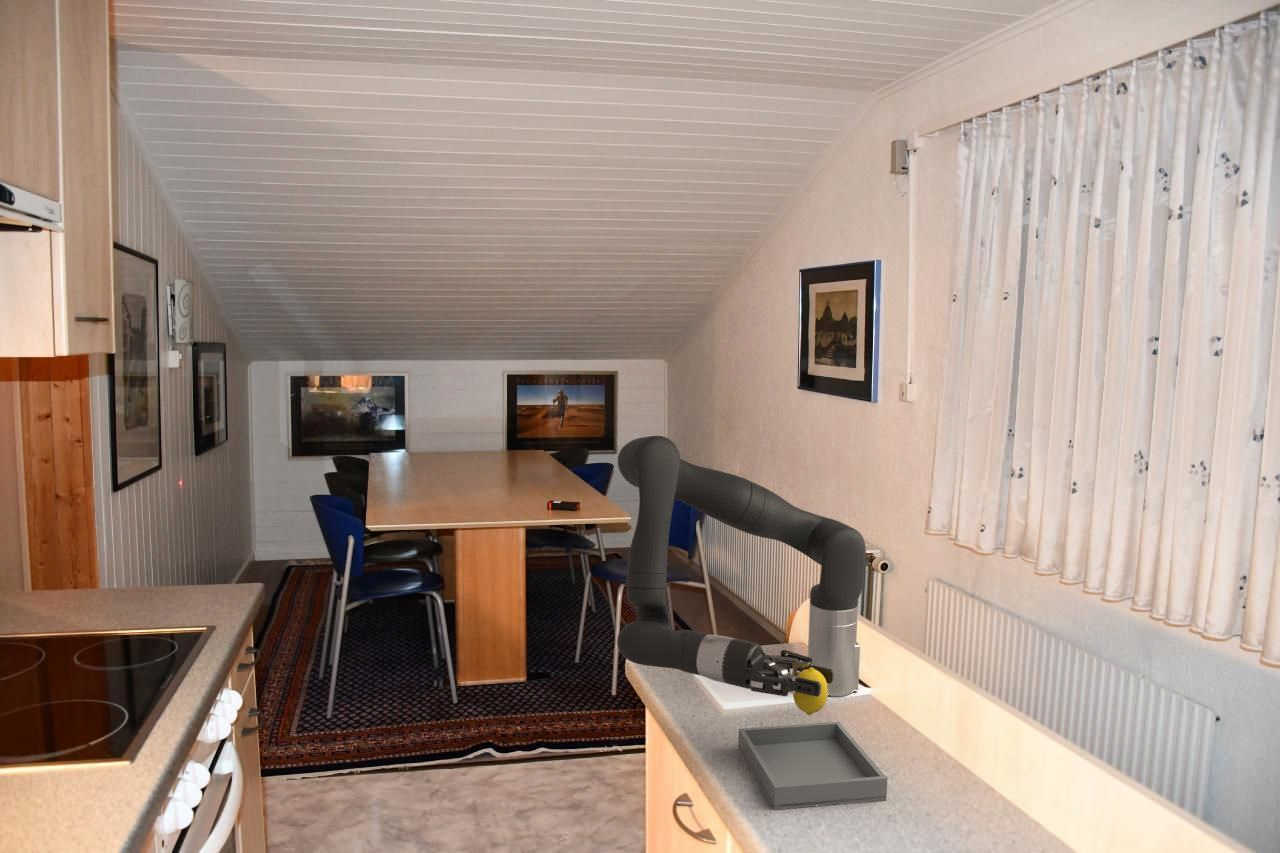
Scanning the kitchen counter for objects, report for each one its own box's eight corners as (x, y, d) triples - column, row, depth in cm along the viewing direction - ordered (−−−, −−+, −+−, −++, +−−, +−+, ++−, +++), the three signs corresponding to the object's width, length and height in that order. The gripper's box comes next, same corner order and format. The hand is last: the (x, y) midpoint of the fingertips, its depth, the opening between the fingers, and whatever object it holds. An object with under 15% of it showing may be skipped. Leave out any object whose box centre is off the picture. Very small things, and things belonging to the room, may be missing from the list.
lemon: (805, 725, 155) (808, 677, 154) (784, 711, 160) (787, 664, 159) (833, 718, 158) (836, 671, 157) (812, 705, 163) (814, 659, 161)
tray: (838, 741, 172) (838, 721, 171) (886, 800, 152) (887, 778, 152) (738, 748, 169) (738, 728, 168) (774, 809, 149) (775, 787, 149)
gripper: (711, 652, 158) (812, 675, 150) (748, 626, 171) (842, 646, 162) (710, 697, 160) (809, 722, 151) (746, 667, 172) (840, 689, 164)
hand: (826, 683), depth 157 cm, fingers closed on lemon, 5 cm apart
